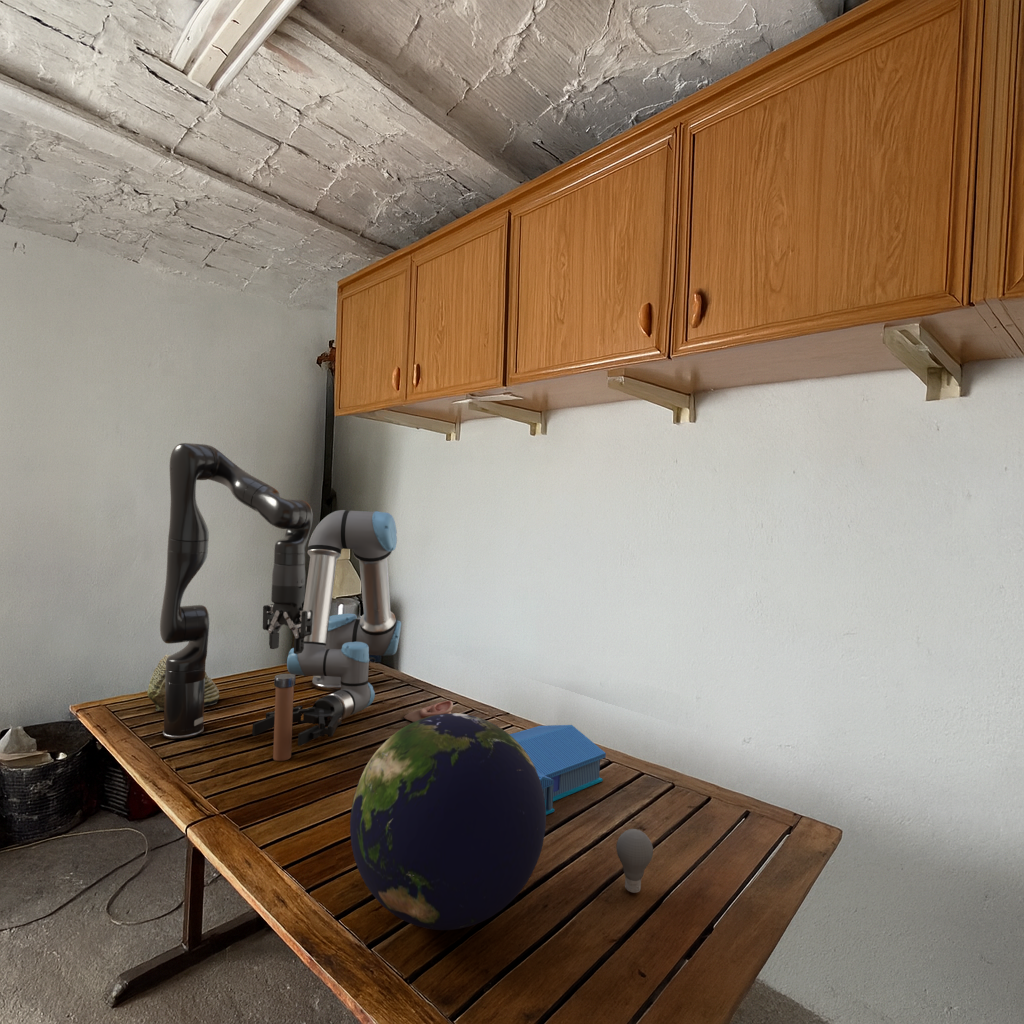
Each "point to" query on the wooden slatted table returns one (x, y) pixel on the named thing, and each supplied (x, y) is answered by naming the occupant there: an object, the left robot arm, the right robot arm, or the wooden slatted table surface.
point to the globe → (448, 821)
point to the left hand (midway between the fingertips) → (286, 650)
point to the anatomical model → (430, 711)
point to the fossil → (158, 687)
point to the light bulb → (634, 857)
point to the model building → (561, 760)
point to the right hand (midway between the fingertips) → (275, 734)
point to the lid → (284, 680)
